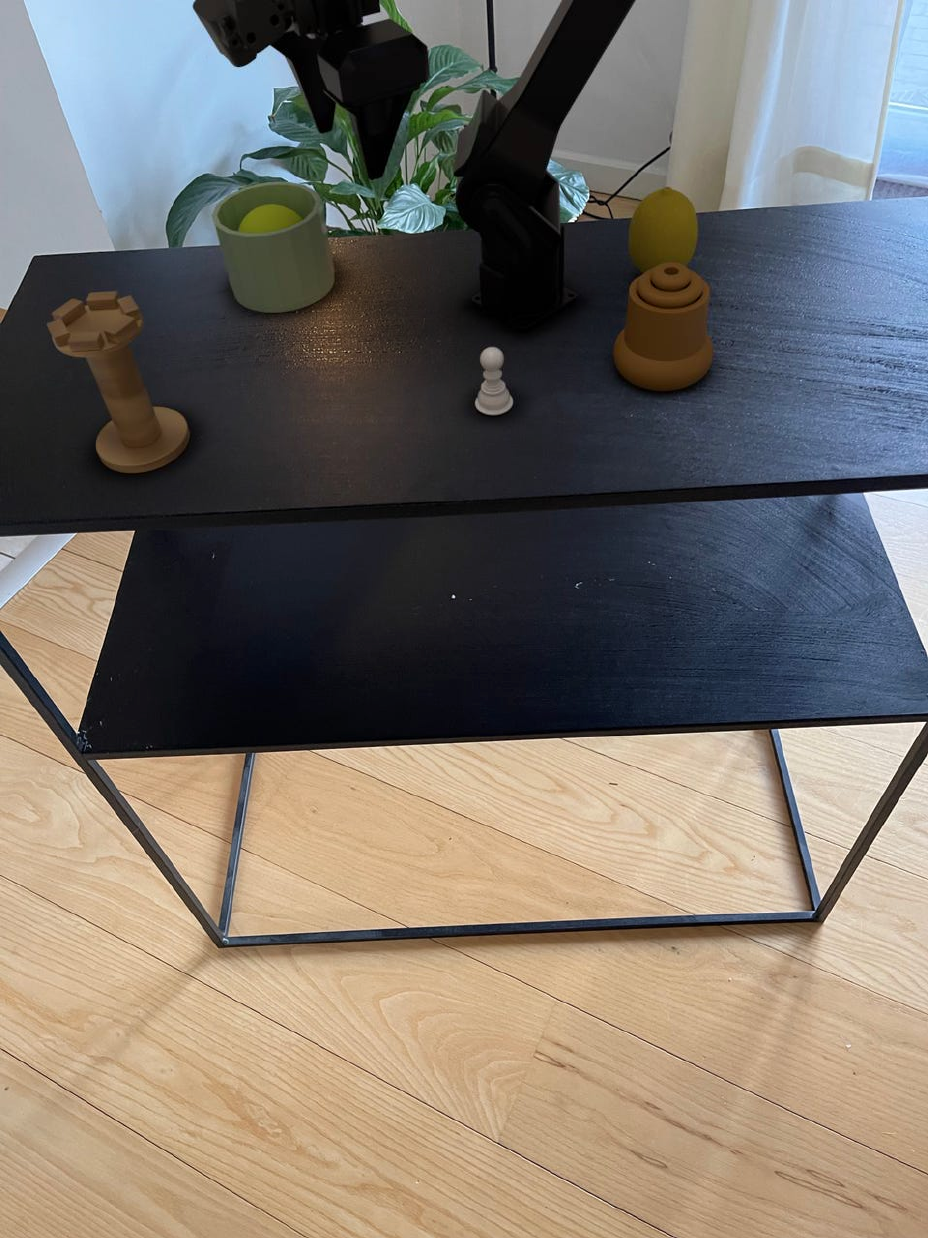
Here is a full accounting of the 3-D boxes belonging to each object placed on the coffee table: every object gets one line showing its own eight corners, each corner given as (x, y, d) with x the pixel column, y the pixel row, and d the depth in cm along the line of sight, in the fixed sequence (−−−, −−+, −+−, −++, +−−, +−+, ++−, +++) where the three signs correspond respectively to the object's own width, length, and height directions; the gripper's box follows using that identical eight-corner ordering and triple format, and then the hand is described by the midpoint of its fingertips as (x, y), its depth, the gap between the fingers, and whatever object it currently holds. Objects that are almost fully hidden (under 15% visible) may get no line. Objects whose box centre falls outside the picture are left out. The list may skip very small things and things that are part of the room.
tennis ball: (279, 253, 89) (219, 220, 84) (324, 211, 85) (263, 174, 80) (285, 310, 86) (223, 279, 82) (331, 269, 83) (269, 235, 78)
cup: (244, 258, 89) (224, 183, 84) (340, 255, 89) (327, 179, 83) (223, 314, 84) (201, 237, 78) (327, 311, 83) (311, 233, 78)
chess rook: (111, 416, 76) (56, 290, 67) (197, 412, 75) (153, 284, 67) (89, 475, 71) (28, 348, 63) (180, 471, 71) (131, 342, 63)
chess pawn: (512, 392, 74) (510, 335, 70) (513, 415, 72) (511, 358, 69) (475, 393, 74) (471, 337, 71) (475, 417, 73) (471, 360, 69)
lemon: (690, 300, 80) (701, 206, 74) (622, 296, 81) (628, 203, 75) (694, 264, 84) (705, 171, 78) (628, 261, 85) (634, 169, 79)
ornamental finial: (594, 376, 75) (642, 327, 78) (682, 408, 72) (728, 355, 75) (598, 282, 69) (650, 233, 72) (695, 311, 65) (744, 259, 69)
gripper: (144, -104, 64) (207, 137, 76) (239, -29, 53) (296, 239, 65) (300, -138, 67) (337, 100, 79) (421, -73, 56) (443, 191, 68)
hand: (349, 153), depth 73 cm, fingers open, 9 cm apart
